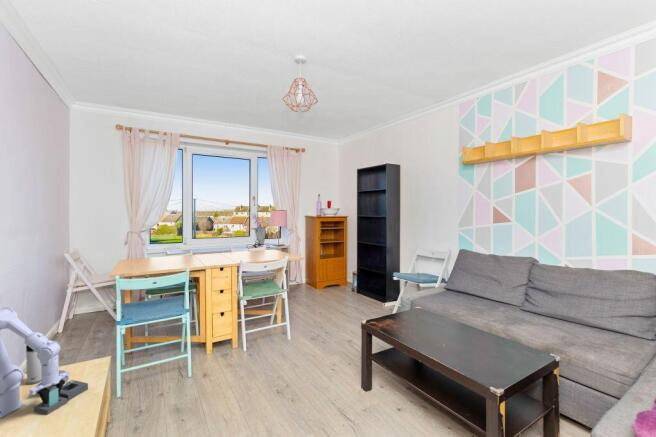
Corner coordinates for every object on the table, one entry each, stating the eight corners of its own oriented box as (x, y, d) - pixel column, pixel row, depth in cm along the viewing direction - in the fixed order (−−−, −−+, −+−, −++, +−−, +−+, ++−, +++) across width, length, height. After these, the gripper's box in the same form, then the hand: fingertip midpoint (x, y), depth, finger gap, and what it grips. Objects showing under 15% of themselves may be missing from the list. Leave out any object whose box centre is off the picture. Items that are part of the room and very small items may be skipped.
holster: (47, 414, 131) (47, 410, 131) (34, 411, 133) (33, 406, 133) (67, 402, 139) (67, 398, 138) (54, 399, 140) (54, 395, 140)
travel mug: (34, 385, 150) (33, 346, 149) (23, 383, 152) (22, 344, 150) (48, 378, 156) (47, 340, 155) (38, 376, 158) (36, 339, 156)
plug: (49, 410, 133) (49, 390, 133) (43, 408, 134) (42, 389, 134) (58, 404, 137) (58, 385, 136) (52, 403, 138) (52, 384, 137)
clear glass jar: (43, 381, 148) (42, 382, 141) (59, 365, 153) (59, 366, 146) (58, 389, 151) (58, 391, 143) (73, 374, 156) (73, 375, 148)
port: (68, 400, 140) (68, 394, 140) (51, 396, 142) (51, 390, 142) (87, 389, 148) (87, 382, 148) (72, 385, 151) (72, 379, 151)
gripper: (37, 381, 127) (38, 413, 127) (74, 363, 141) (74, 392, 142) (25, 379, 128) (26, 409, 129) (62, 361, 142) (63, 389, 143)
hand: (51, 400), depth 135 cm, fingers closed on plug, 4 cm apart
